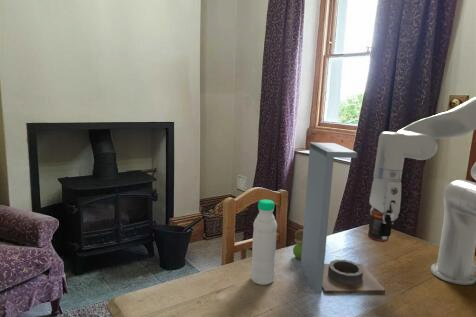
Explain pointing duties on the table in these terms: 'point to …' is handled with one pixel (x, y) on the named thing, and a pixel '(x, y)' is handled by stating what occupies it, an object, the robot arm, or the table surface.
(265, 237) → the water bottle
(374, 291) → the socket
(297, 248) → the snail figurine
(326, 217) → the grey l-shaped stand
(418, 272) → the table surface
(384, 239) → the supplement bottle
